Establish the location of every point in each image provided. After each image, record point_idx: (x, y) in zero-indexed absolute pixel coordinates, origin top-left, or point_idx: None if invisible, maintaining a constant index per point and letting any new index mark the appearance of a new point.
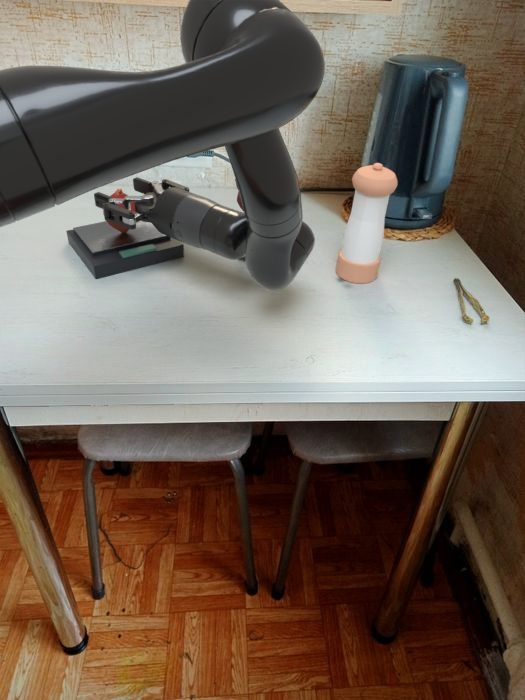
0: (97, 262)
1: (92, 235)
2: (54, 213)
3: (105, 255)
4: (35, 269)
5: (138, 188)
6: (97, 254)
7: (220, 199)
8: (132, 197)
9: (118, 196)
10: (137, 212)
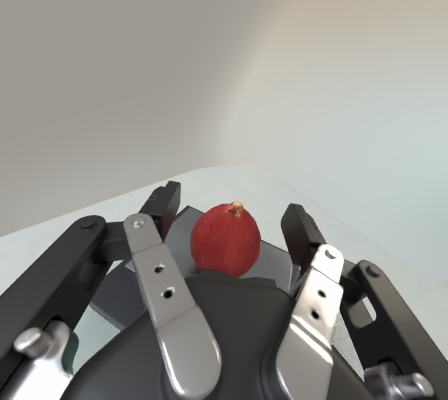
0: (102, 290)
1: (182, 234)
2: (229, 185)
3: (136, 286)
4: (110, 221)
5: (286, 227)
6: (131, 273)
7: (443, 311)
8: (161, 271)
9: (224, 216)
10: (70, 375)
